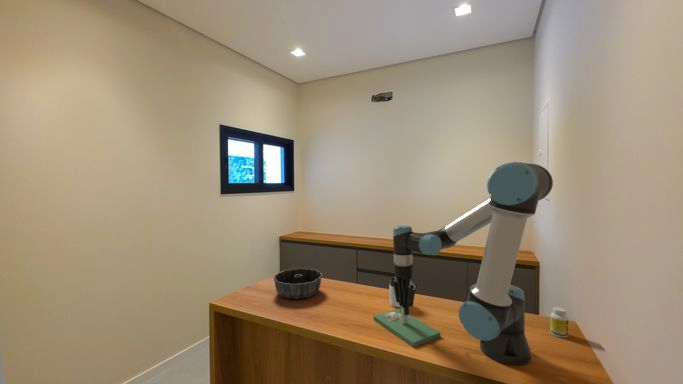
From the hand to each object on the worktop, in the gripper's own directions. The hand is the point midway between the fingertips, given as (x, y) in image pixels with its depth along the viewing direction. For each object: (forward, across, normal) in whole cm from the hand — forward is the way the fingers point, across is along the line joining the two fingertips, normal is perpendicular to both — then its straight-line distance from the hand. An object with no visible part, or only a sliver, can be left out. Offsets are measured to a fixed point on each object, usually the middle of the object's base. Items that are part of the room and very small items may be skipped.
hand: (404, 321), depth 113 cm
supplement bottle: (+3, -34, -47) cm, 58 cm away
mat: (+2, 0, 0) cm, 2 cm away
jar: (+2, +19, -13) cm, 23 cm away
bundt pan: (+2, +58, +24) cm, 63 cm away
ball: (0, +7, 0) cm, 7 cm away
